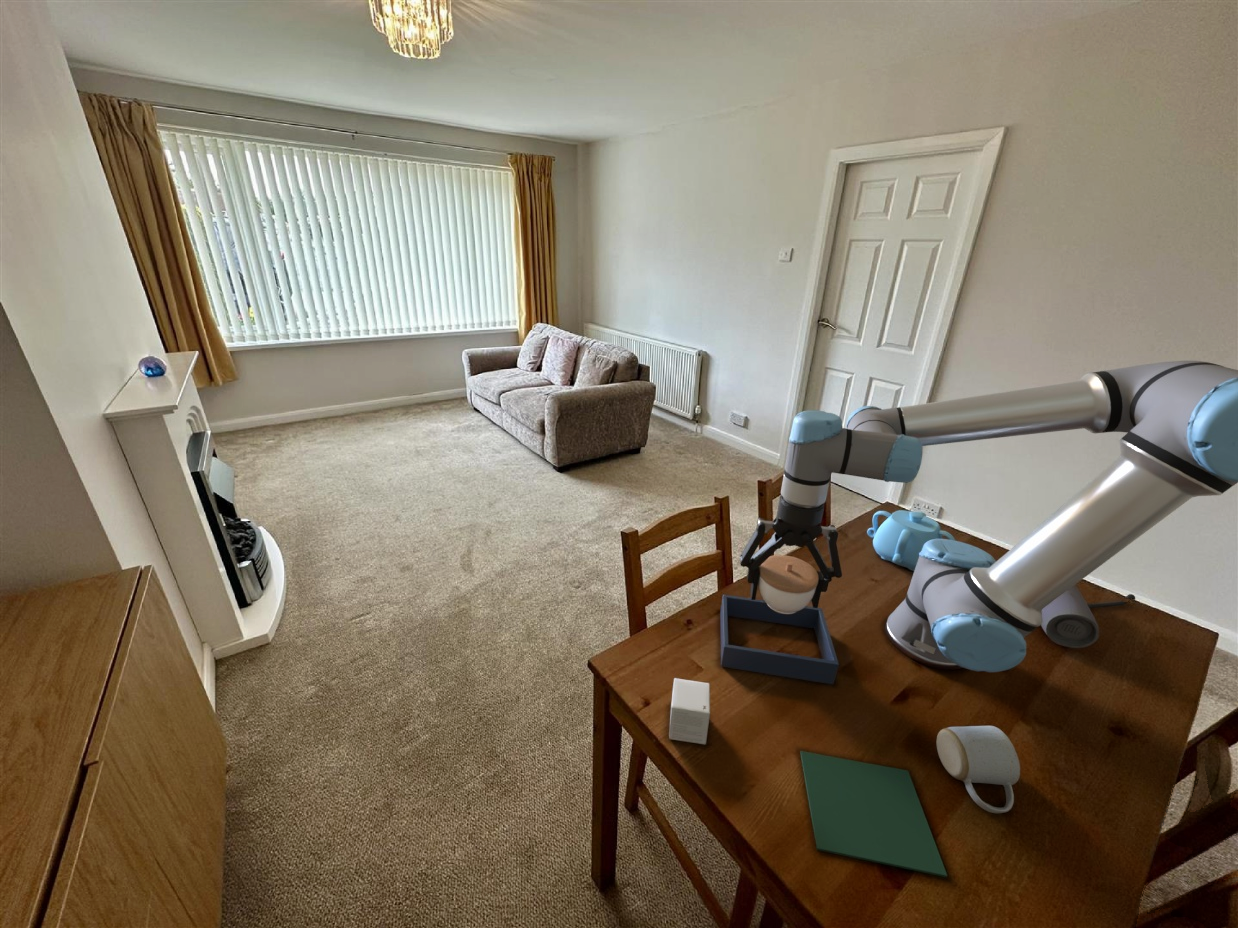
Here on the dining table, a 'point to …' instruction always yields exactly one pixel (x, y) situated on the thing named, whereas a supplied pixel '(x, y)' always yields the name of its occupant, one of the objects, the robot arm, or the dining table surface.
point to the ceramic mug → (980, 760)
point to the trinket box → (787, 583)
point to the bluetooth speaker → (1070, 620)
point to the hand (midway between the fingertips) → (783, 599)
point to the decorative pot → (904, 536)
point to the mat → (869, 813)
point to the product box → (690, 711)
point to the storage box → (776, 661)
